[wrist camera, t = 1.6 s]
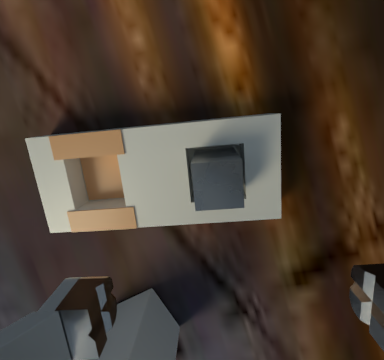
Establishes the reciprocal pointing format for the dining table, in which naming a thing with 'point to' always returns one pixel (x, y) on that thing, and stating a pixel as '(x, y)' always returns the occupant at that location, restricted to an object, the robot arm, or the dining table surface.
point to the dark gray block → (217, 179)
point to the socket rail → (152, 173)
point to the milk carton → (142, 331)
